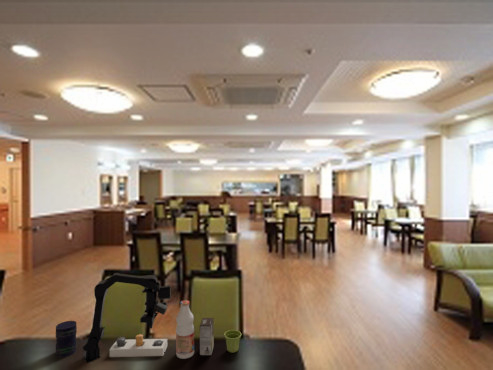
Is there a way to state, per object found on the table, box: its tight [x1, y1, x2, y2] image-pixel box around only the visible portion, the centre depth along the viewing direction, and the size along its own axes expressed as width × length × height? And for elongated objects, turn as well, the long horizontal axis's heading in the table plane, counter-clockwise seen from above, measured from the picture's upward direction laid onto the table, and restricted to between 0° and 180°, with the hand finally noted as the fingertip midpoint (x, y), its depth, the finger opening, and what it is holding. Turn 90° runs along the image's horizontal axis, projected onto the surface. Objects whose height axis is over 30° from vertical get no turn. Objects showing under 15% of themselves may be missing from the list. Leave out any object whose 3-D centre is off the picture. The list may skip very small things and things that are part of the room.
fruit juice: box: [175, 299, 195, 360], centre depth 160 cm, size 9×9×28 cm
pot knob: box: [135, 334, 144, 346], centre depth 163 cm, size 4×4×5 cm
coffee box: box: [199, 317, 215, 356], centre depth 163 cm, size 9×6×16 cm
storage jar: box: [55, 320, 78, 358], centre depth 163 cm, size 10×10×15 cm
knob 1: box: [115, 336, 126, 347], centre depth 163 cm, size 4×4×3 cm
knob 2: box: [154, 340, 162, 346], centre depth 163 cm, size 4×4×3 cm
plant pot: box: [224, 329, 242, 353], centre depth 164 cm, size 9×9×9 cm
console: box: [109, 338, 168, 358], centre depth 163 cm, size 28×10×4 cm, turn 92°
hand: (151, 328), depth 163 cm, fingers closed
